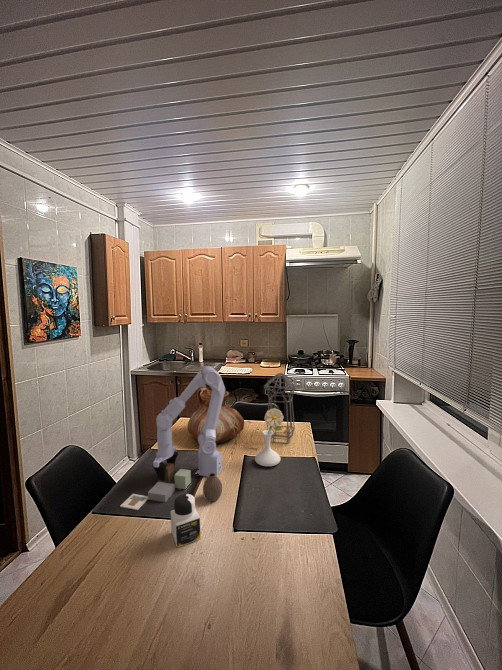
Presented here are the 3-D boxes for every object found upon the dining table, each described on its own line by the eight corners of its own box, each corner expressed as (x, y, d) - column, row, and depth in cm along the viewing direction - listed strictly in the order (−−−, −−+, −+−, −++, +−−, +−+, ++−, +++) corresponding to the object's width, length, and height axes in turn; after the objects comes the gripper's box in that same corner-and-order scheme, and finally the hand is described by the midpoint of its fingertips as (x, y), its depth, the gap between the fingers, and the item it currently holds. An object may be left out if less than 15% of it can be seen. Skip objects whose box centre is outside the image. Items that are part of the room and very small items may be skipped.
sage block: (191, 483, 118) (190, 470, 118) (185, 490, 114) (185, 476, 113) (180, 482, 119) (180, 468, 119) (175, 488, 115) (174, 475, 114)
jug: (250, 427, 172) (249, 384, 170) (235, 452, 143) (234, 401, 141) (201, 423, 179) (199, 382, 176) (177, 446, 150) (175, 397, 147)
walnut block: (174, 476, 123) (173, 463, 123) (168, 482, 119) (168, 469, 118) (164, 475, 124) (164, 462, 124) (158, 481, 120) (157, 467, 120)
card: (149, 497, 110) (149, 496, 110) (137, 510, 103) (137, 508, 103) (133, 494, 111) (132, 493, 111) (120, 506, 105) (120, 505, 105)
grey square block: (175, 491, 114) (174, 483, 113) (165, 503, 107) (165, 495, 107) (158, 489, 115) (158, 481, 115) (148, 500, 109) (147, 492, 108)
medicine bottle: (176, 548, 86) (175, 509, 85) (171, 532, 92) (169, 495, 91) (200, 539, 89) (199, 501, 88) (193, 524, 96) (192, 488, 95)
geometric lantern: (264, 445, 150) (262, 375, 148) (269, 432, 165) (267, 370, 163) (295, 447, 147) (294, 376, 144) (298, 434, 162) (297, 370, 160)
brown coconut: (225, 494, 111) (225, 472, 110) (216, 506, 104) (215, 482, 104) (209, 490, 114) (209, 468, 113) (199, 500, 107) (198, 477, 107)
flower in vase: (251, 466, 130) (250, 410, 128) (260, 454, 141) (259, 402, 138) (280, 472, 125) (279, 413, 123) (287, 459, 136) (287, 405, 133)
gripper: (165, 434, 128) (167, 464, 130) (145, 450, 114) (147, 484, 116) (180, 436, 126) (181, 466, 128) (161, 452, 113) (163, 486, 114)
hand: (166, 475), depth 122 cm, fingers open, 6 cm apart
